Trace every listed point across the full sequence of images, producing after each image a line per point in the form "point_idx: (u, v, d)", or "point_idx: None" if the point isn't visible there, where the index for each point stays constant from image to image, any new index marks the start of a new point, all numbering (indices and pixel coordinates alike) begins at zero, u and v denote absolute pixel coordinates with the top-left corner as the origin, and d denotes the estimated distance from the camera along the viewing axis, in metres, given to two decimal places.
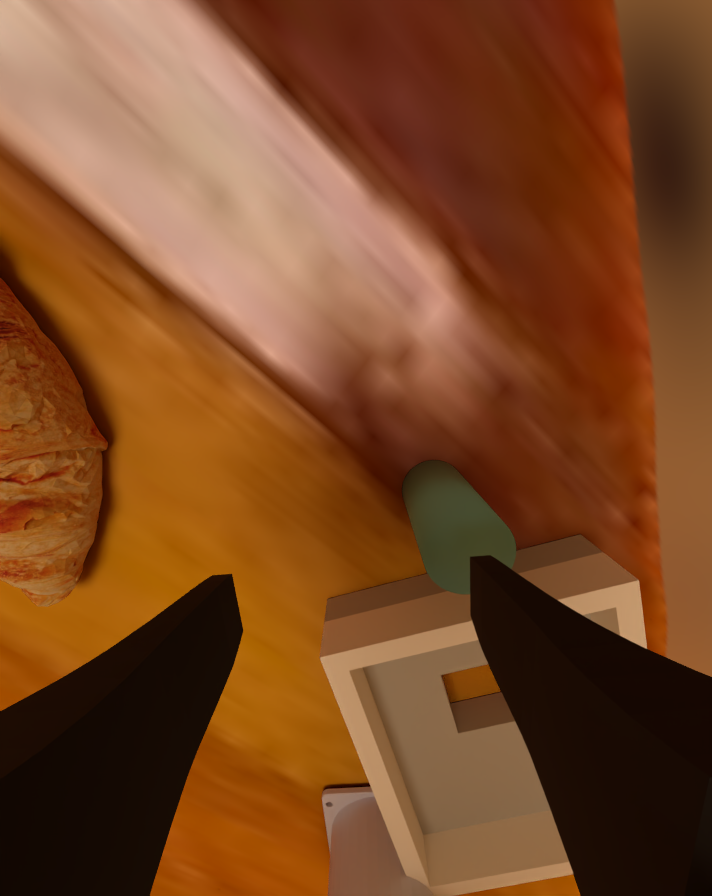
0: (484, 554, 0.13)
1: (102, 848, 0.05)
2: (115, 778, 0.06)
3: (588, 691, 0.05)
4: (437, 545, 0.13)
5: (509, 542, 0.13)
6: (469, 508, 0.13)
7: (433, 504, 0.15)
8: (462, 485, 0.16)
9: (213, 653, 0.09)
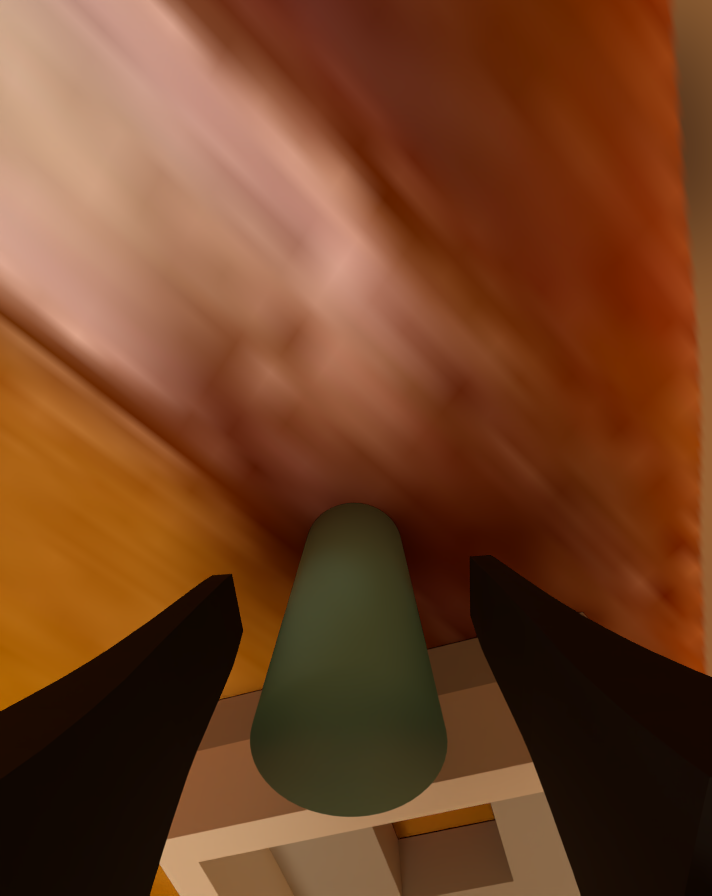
0: (379, 746, 0.06)
1: (102, 848, 0.05)
2: (115, 778, 0.06)
3: (588, 690, 0.05)
4: (277, 730, 0.06)
5: (431, 724, 0.06)
6: (344, 650, 0.06)
7: (296, 619, 0.08)
8: (369, 567, 0.09)
9: (213, 653, 0.09)
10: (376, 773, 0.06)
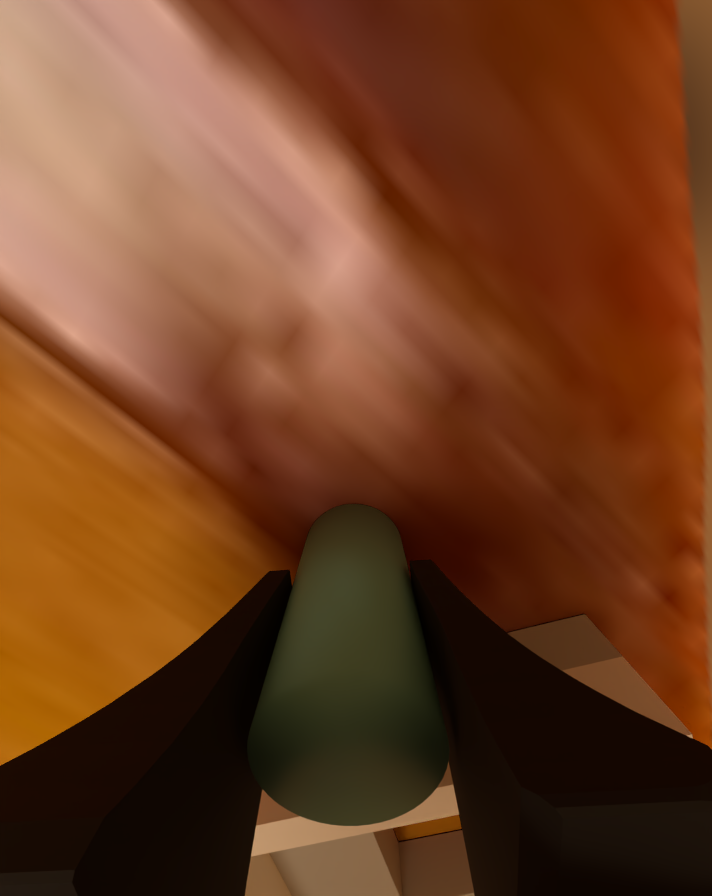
0: (379, 755, 0.06)
1: (214, 843, 0.05)
2: (220, 772, 0.06)
3: (469, 697, 0.05)
4: (275, 738, 0.06)
5: (433, 733, 0.06)
6: (343, 657, 0.06)
7: (295, 624, 0.07)
8: (369, 570, 0.09)
9: None
10: (376, 782, 0.06)
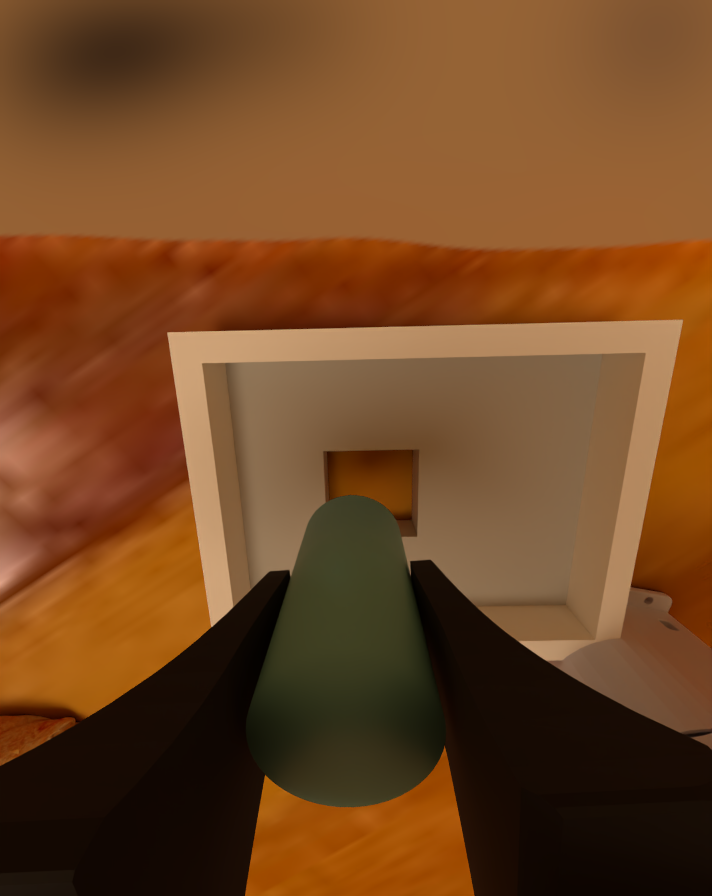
0: (377, 732, 0.06)
1: (214, 843, 0.05)
2: (220, 772, 0.06)
3: (469, 697, 0.05)
4: (272, 724, 0.06)
5: (426, 705, 0.06)
6: (329, 639, 0.06)
7: (287, 614, 0.07)
8: (359, 555, 0.09)
9: None
10: (378, 760, 0.06)
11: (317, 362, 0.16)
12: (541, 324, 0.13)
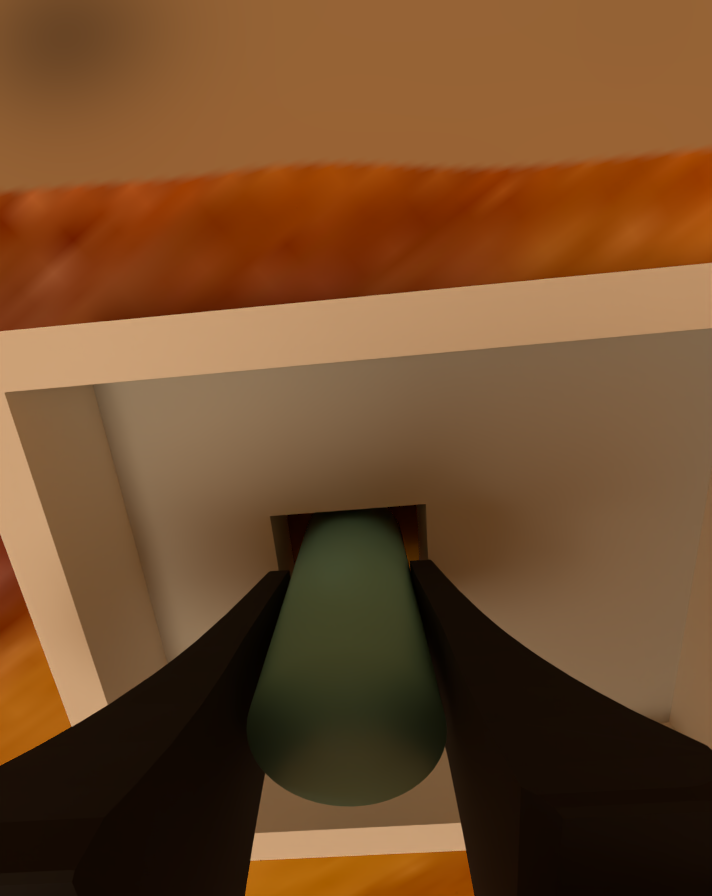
0: (377, 731, 0.06)
1: (214, 843, 0.05)
2: (220, 772, 0.06)
3: (468, 697, 0.05)
4: (273, 724, 0.06)
5: (427, 705, 0.06)
6: (330, 638, 0.06)
7: (287, 613, 0.07)
8: (360, 555, 0.09)
9: None
10: (378, 759, 0.06)
11: (244, 373, 0.10)
12: (657, 270, 0.07)
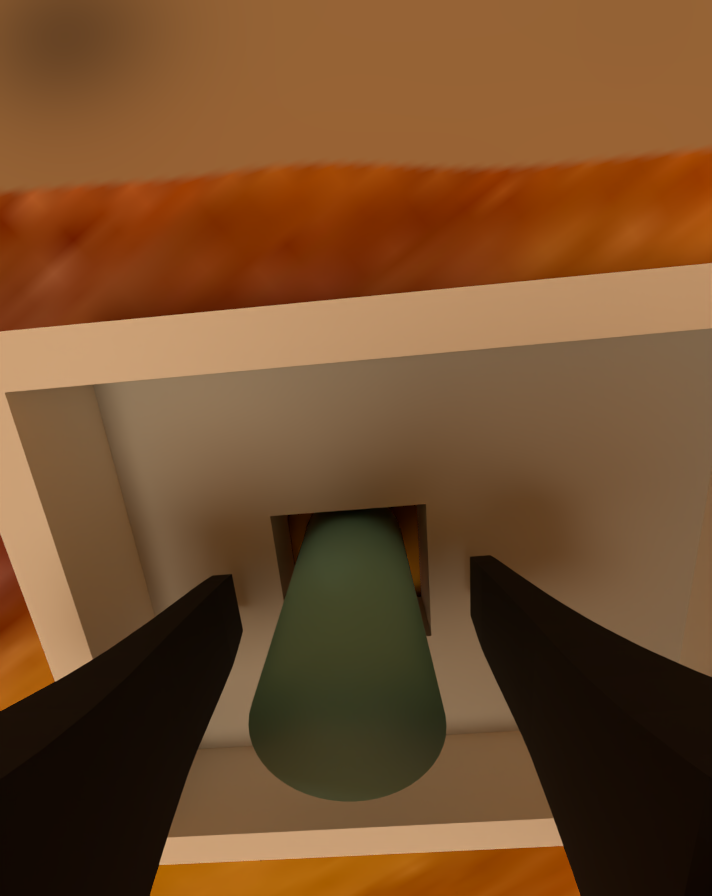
0: (378, 727, 0.06)
1: (102, 848, 0.05)
2: (115, 778, 0.06)
3: (588, 690, 0.05)
4: (275, 719, 0.06)
5: (427, 701, 0.06)
6: (331, 635, 0.06)
7: (289, 611, 0.08)
8: (360, 553, 0.09)
9: (213, 653, 0.09)
10: (379, 755, 0.06)
11: (245, 374, 0.10)
12: (657, 270, 0.07)
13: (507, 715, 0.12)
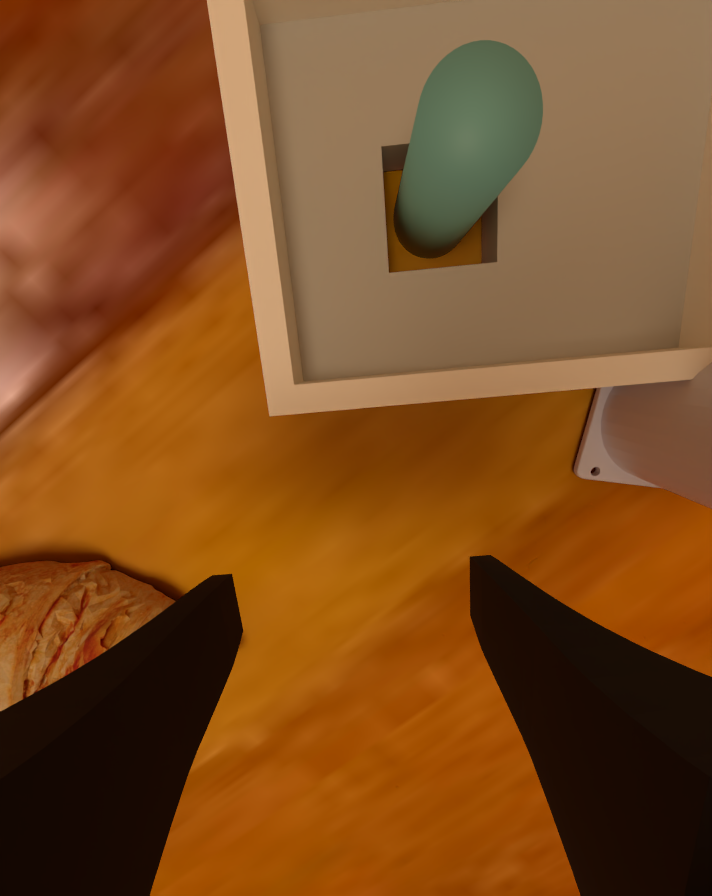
0: (499, 116, 0.10)
1: (102, 848, 0.05)
2: (115, 778, 0.06)
3: (588, 690, 0.05)
4: (434, 109, 0.10)
5: (532, 88, 0.10)
6: (471, 50, 0.10)
7: None
8: None
9: (213, 653, 0.09)
10: (498, 143, 0.10)
11: (371, 14, 0.13)
12: None
13: (553, 342, 0.16)
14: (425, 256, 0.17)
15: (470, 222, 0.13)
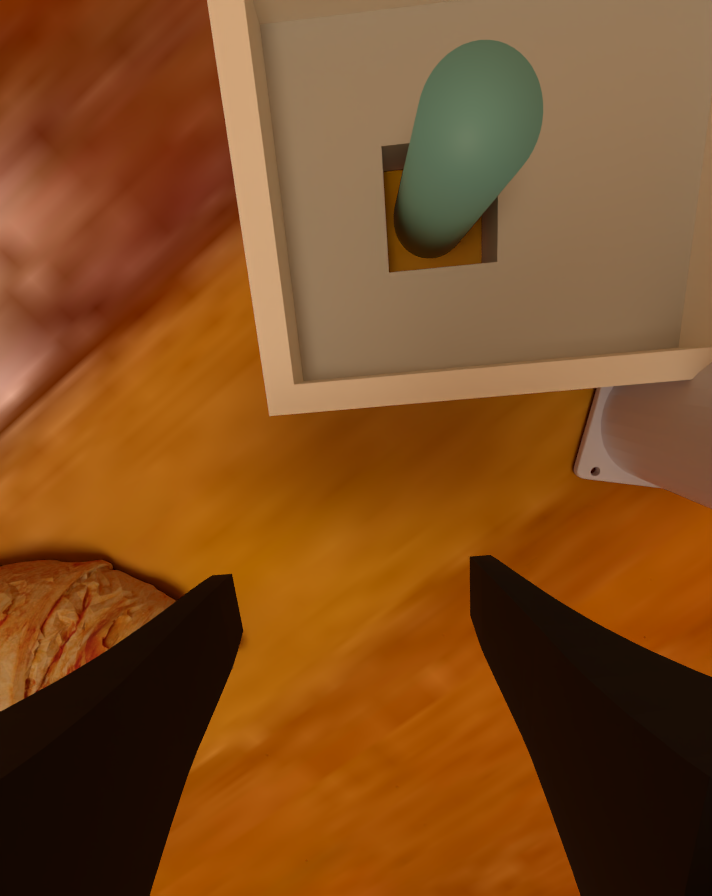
0: (499, 115, 0.10)
1: (102, 848, 0.05)
2: (115, 778, 0.06)
3: (588, 690, 0.05)
4: (434, 109, 0.10)
5: (532, 88, 0.10)
6: (471, 50, 0.10)
7: None
8: None
9: (213, 653, 0.09)
10: (498, 142, 0.10)
11: (371, 14, 0.13)
12: None
13: (553, 342, 0.16)
14: (425, 256, 0.17)
15: (470, 222, 0.13)
